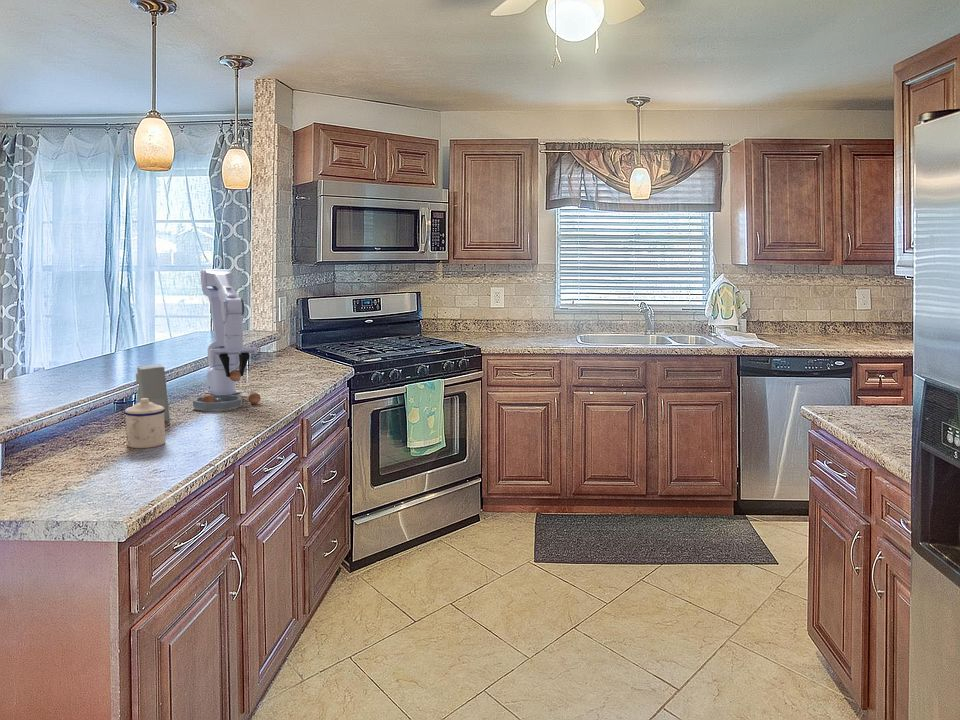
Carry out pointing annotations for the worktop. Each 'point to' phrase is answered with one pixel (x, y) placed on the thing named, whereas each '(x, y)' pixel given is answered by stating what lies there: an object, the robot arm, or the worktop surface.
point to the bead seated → (208, 398)
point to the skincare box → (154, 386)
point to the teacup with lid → (145, 425)
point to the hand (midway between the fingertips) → (234, 376)
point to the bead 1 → (235, 375)
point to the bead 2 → (254, 398)
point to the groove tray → (218, 403)
